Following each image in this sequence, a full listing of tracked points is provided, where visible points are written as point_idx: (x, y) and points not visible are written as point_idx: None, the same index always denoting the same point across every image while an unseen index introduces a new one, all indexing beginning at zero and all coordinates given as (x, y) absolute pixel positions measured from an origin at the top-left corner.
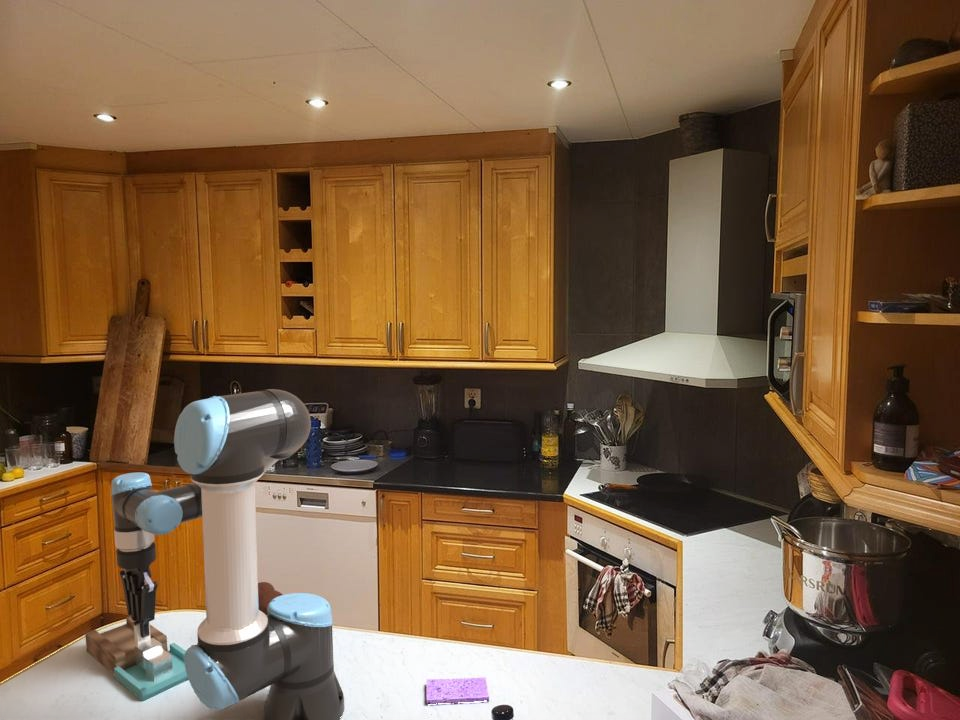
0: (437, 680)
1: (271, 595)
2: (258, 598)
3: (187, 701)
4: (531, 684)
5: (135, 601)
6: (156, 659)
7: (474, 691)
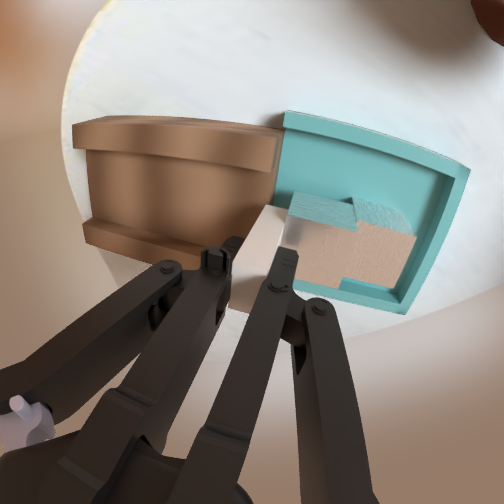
0: None
1: None
2: None
3: (485, 265)
4: None
5: (191, 374)
6: (385, 270)
7: None
